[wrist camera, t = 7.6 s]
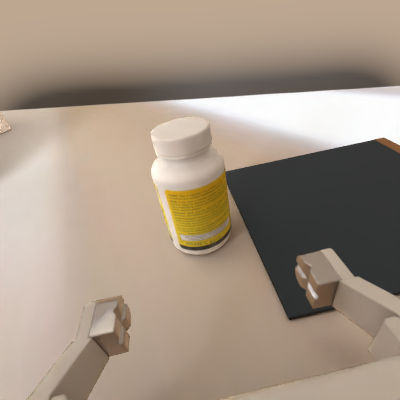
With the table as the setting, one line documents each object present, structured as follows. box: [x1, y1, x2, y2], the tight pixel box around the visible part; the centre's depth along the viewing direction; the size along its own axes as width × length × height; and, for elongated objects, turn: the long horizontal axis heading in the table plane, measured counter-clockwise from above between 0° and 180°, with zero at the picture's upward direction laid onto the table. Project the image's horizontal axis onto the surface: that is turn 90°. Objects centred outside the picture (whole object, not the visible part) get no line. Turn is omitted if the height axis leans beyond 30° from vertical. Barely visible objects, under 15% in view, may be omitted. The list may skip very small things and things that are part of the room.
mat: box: [225, 138, 400, 320], centre depth 22 cm, size 20×18×1 cm
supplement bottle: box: [151, 117, 231, 255], centre depth 19 cm, size 5×5×10 cm
